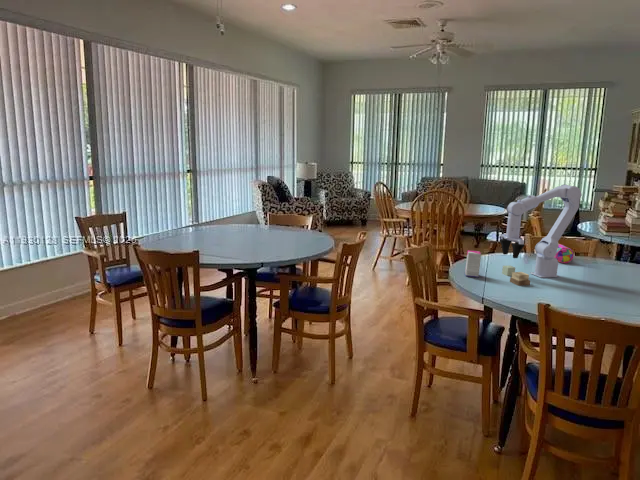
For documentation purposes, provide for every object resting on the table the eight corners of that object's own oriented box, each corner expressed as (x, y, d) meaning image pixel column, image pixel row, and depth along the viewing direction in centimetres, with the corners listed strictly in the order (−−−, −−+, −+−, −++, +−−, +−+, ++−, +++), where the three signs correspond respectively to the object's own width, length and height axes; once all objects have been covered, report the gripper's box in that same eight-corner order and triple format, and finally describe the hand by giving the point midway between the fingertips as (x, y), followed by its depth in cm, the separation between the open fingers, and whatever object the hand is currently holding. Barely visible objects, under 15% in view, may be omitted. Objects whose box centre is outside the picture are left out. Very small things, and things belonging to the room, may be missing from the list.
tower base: (521, 282, 225) (521, 276, 224) (529, 285, 219) (530, 280, 218) (509, 282, 223) (510, 277, 223) (518, 286, 217) (518, 281, 217)
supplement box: (478, 277, 228) (481, 253, 225) (465, 276, 229) (467, 252, 227) (477, 274, 233) (479, 251, 231) (464, 273, 235) (466, 250, 232)
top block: (509, 273, 238) (510, 265, 237) (514, 275, 234) (515, 267, 233) (502, 273, 236) (502, 265, 236) (507, 276, 233) (508, 267, 232)
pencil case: (540, 254, 281) (542, 238, 280) (557, 255, 281) (559, 239, 279) (555, 263, 260) (558, 247, 258) (574, 264, 260) (576, 247, 258)
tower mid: (521, 277, 223) (521, 271, 223) (528, 280, 219) (529, 274, 218) (511, 277, 222) (512, 272, 222) (518, 280, 217) (519, 275, 217)
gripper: (496, 225, 236) (493, 252, 239) (515, 230, 223) (512, 260, 225) (509, 225, 238) (506, 252, 241) (529, 230, 224) (525, 259, 227)
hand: (510, 256), depth 233 cm, fingers open, 7 cm apart
